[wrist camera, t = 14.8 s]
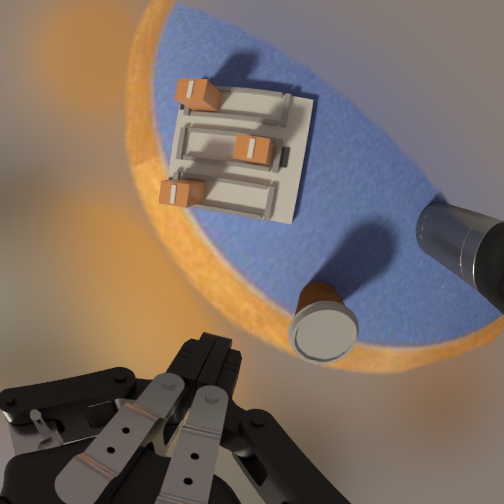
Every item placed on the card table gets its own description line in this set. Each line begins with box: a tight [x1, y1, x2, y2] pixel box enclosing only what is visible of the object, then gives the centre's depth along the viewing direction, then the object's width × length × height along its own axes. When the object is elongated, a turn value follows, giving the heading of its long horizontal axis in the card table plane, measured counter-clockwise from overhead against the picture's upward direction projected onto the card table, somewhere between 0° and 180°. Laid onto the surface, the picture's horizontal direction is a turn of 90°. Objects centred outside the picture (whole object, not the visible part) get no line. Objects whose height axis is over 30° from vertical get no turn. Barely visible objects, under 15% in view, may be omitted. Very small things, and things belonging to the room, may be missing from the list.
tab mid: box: [233, 134, 274, 165], centre depth 34 cm, size 4×3×7 cm
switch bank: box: [168, 86, 313, 224], centre depth 38 cm, size 20×19×2 cm
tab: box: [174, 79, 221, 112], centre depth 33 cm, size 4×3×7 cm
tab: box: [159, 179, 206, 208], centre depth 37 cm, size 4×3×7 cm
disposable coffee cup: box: [288, 281, 359, 364], centre depth 39 cm, size 10×10×12 cm
